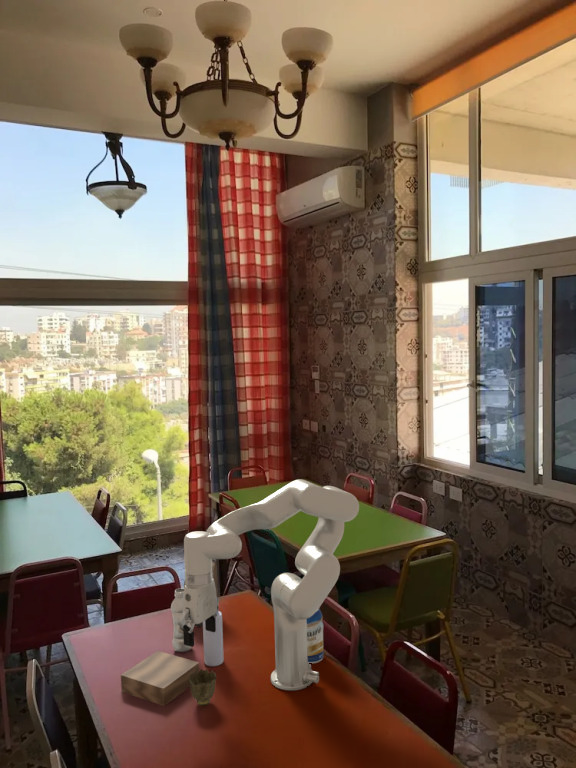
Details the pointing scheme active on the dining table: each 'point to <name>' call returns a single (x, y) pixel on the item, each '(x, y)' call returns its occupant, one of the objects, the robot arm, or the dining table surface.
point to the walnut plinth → (159, 677)
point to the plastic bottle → (176, 613)
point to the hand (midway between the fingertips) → (200, 638)
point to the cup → (202, 686)
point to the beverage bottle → (315, 637)
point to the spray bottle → (213, 643)
